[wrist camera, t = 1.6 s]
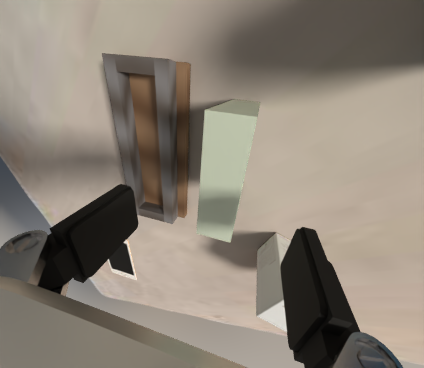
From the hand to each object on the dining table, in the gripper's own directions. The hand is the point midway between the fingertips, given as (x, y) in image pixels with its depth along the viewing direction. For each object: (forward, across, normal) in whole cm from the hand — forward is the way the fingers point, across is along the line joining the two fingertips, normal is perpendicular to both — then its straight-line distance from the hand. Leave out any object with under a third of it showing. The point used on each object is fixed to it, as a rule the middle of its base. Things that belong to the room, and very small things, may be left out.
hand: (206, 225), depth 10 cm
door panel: (+15, 0, -1) cm, 15 cm away
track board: (+15, +12, +2) cm, 19 cm away
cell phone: (+17, +25, +33) cm, 45 cm away
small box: (+16, -11, +16) cm, 25 cm away
